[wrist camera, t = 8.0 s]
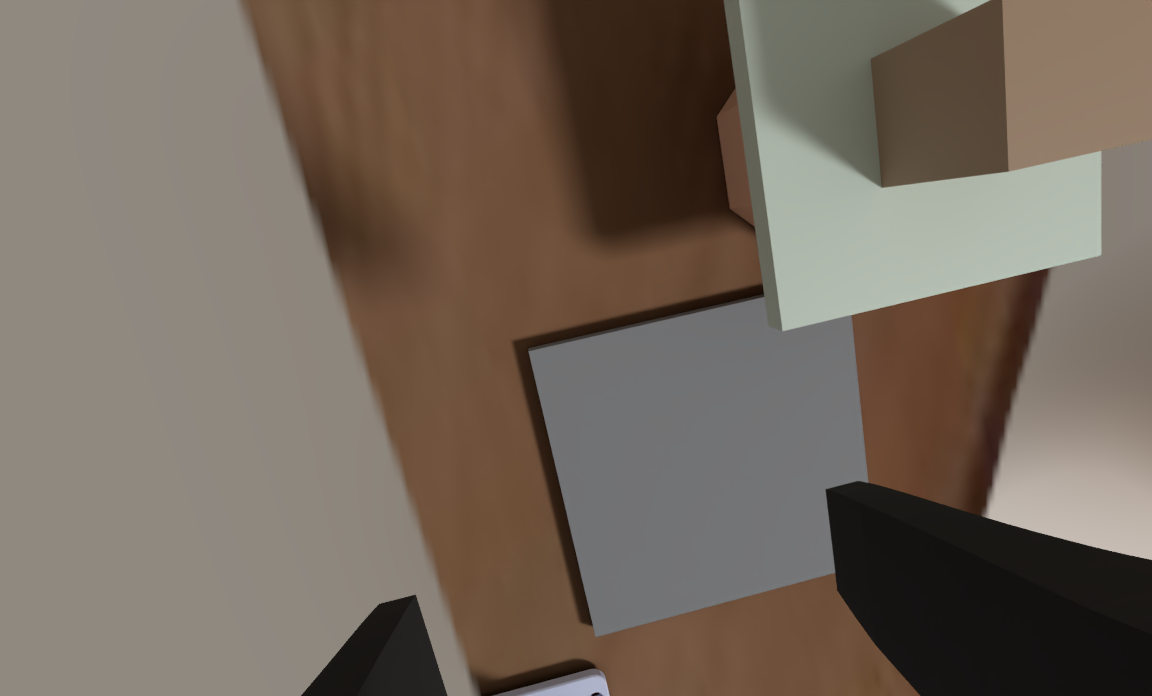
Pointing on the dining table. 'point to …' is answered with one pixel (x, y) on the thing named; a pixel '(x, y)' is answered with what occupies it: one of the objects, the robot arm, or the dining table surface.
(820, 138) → the sage lid
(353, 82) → the dining table surface
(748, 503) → the grey mat
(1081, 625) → the robot arm
